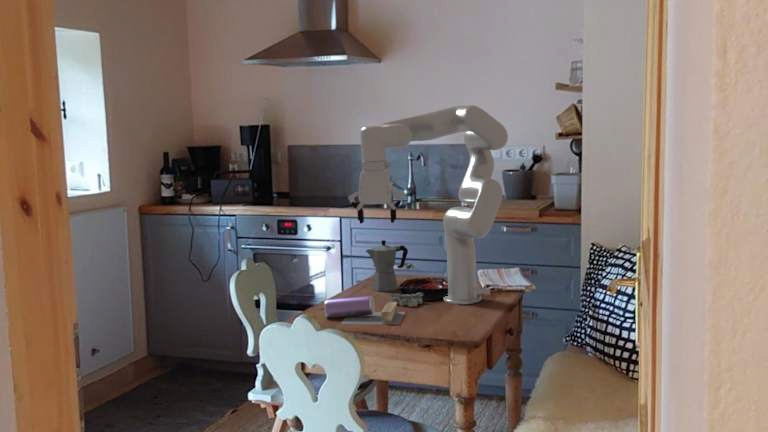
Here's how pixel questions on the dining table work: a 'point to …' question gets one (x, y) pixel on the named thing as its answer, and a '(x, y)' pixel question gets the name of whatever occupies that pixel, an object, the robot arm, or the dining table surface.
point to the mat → (372, 319)
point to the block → (389, 312)
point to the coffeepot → (386, 266)
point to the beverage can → (349, 307)
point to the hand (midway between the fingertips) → (377, 222)
